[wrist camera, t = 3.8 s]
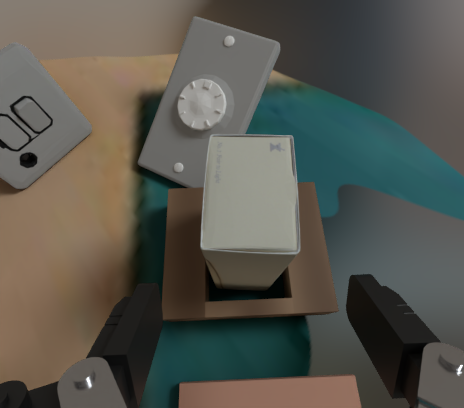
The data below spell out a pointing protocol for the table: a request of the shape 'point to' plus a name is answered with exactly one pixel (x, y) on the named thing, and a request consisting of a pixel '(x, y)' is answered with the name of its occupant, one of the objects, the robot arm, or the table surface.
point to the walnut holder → (199, 308)
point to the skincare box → (249, 210)
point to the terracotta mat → (272, 393)
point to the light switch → (206, 98)
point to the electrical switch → (33, 118)
